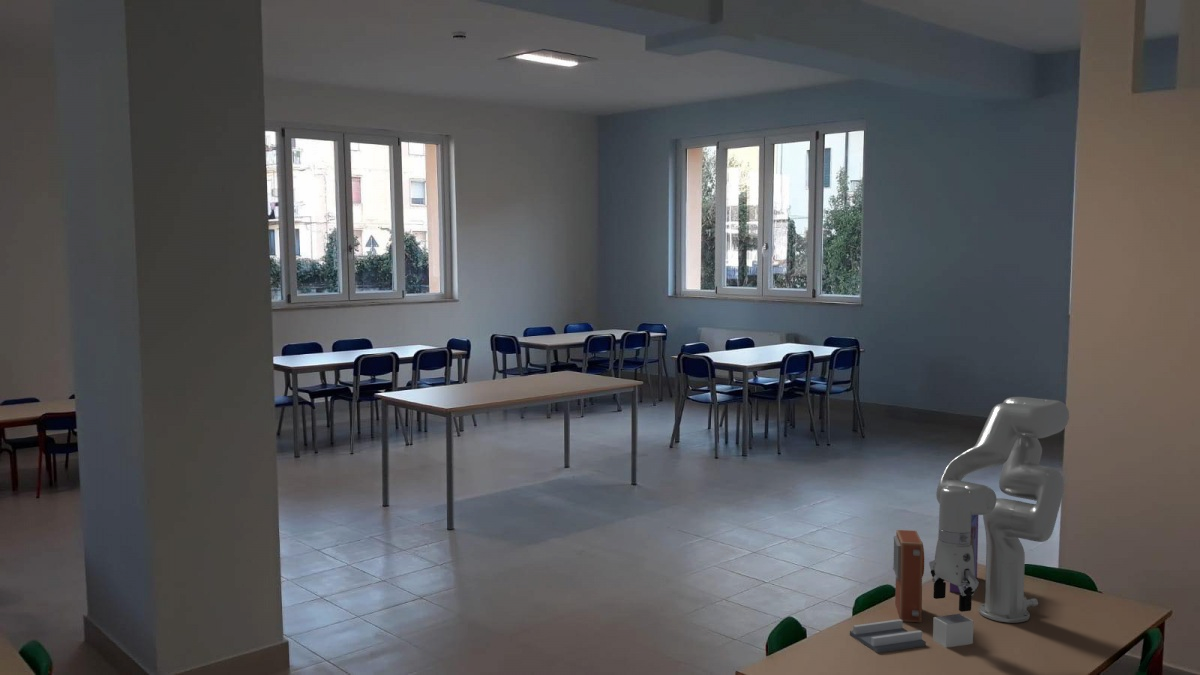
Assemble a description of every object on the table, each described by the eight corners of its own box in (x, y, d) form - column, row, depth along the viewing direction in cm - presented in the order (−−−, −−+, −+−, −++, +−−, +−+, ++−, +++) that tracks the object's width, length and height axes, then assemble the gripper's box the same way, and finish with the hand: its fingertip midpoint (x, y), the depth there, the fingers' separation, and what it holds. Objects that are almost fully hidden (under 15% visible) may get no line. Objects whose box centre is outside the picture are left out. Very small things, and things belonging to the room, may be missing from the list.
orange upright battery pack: (917, 604, 261) (924, 624, 246) (891, 603, 262) (897, 622, 247) (918, 529, 259) (926, 545, 244) (892, 528, 260) (898, 543, 246)
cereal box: (967, 594, 268) (969, 512, 266) (949, 592, 271) (951, 510, 269) (977, 577, 283) (978, 499, 281) (960, 575, 285) (962, 497, 284)
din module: (959, 636, 238) (960, 613, 238) (972, 644, 233) (973, 620, 233) (932, 640, 236) (933, 617, 235) (945, 648, 231) (946, 624, 231)
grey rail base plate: (896, 628, 244) (896, 617, 243) (925, 645, 232) (925, 633, 232) (849, 634, 239) (849, 623, 239) (877, 652, 228) (877, 641, 228)
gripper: (991, 545, 225) (988, 614, 226) (944, 527, 242) (942, 592, 243) (965, 546, 223) (962, 617, 224) (919, 529, 240) (917, 594, 240)
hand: (951, 604), depth 233 cm, fingers open, 9 cm apart
